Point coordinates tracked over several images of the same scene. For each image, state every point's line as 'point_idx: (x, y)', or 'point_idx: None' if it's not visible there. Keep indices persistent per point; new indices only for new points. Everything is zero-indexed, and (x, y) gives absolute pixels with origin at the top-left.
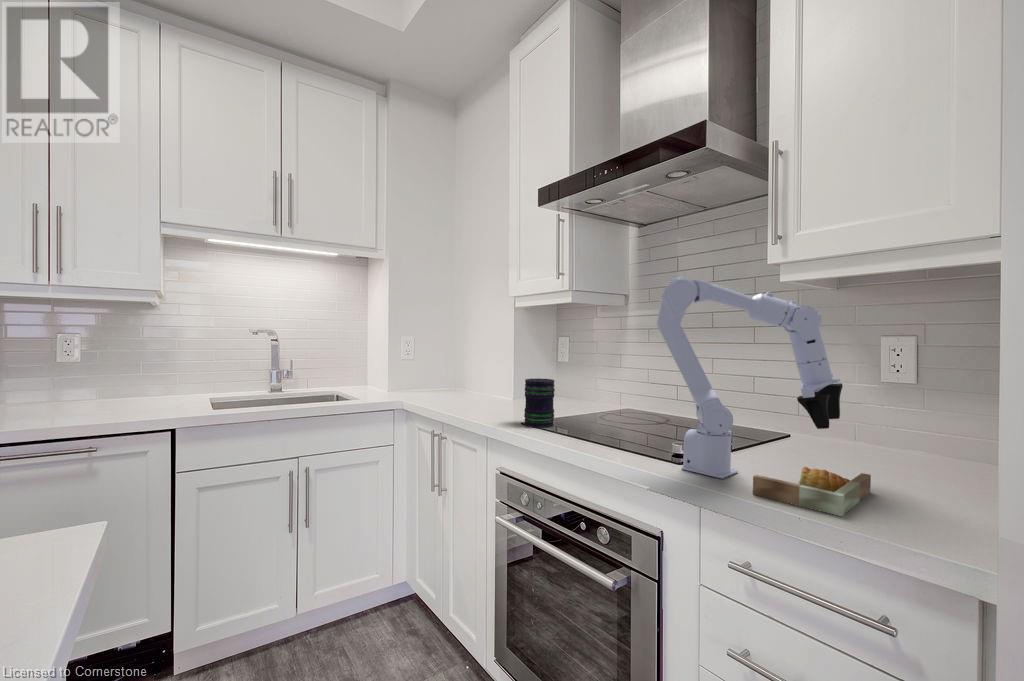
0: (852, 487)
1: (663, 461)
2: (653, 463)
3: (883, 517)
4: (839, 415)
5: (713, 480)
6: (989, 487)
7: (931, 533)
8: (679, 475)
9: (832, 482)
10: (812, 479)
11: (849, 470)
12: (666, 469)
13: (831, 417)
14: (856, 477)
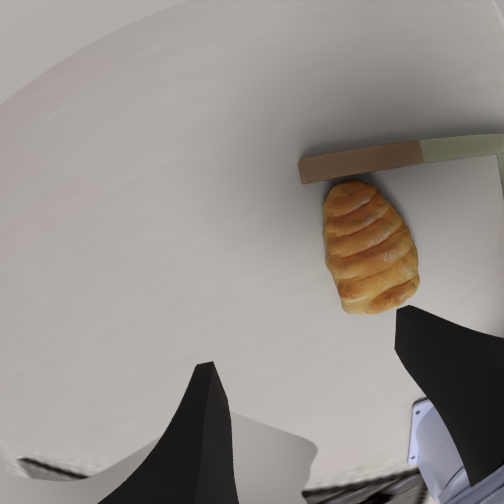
0: (469, 137)
1: None
2: None
3: (445, 85)
4: (202, 370)
5: None
6: (17, 91)
7: (440, 22)
8: None
9: (397, 217)
10: (417, 258)
11: (126, 298)
12: None
13: (222, 393)
14: (374, 167)
